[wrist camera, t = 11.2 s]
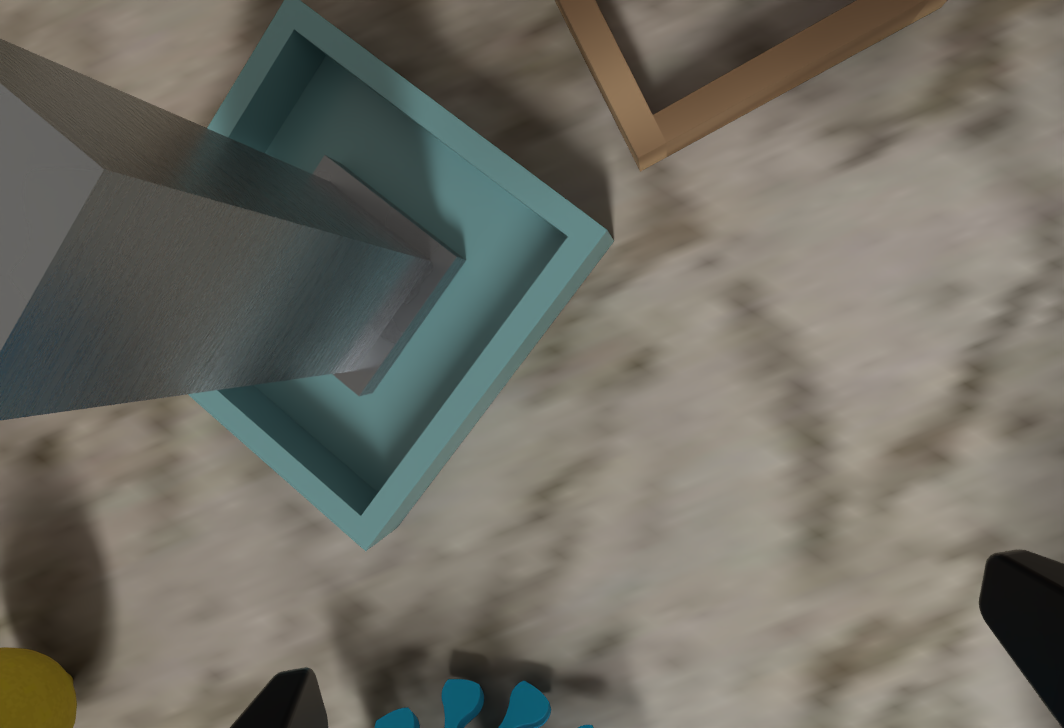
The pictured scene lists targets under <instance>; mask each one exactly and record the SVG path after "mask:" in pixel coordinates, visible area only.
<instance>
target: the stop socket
mask: <svg viewBox="0 0 1064 728" xmlns="http://www.w3.org/2000/svg"><path fill="white" fill-rule="evenodd" d="M946 1H947V0H856V1H854V2H853V3H851V4H849V5H847V6H846V7H844V8H842V9H840V10H838V11H837V12H835V13H833V14H831V15H830V16H828V17H826V18H824V19H822V20H821V21H819V22H817V23H815V24H814V25H812V26H810V27H808V28H807V29H805V30H803V31H801V32H799V33H798V34H796V35H794V36H792V37H791V38H789V39H787V40H785V41H783V42H782V43H780V44H778V45H776V46H775V47H773V48H771V49H769V50H767V51H766V52H764V53H762V54H760V55H759V56H757V57H755V58H753V59H751V60H750V61H748V62H746V63H744V64H743V65H741V66H739V67H737V68H735V69H734V70H732V71H730V72H728V73H727V74H725V75H723V76H721V77H719V78H718V79H716V80H714V81H712V82H711V83H709V84H707V85H705V86H703V87H702V88H700V89H698V90H696V91H695V92H693V93H691V94H689V95H687V96H686V97H684V98H682V99H680V100H679V101H677V102H675V103H673V104H671V105H670V106H668V107H666V108H664V109H663V110H661V111H659V112H657V113H655V114H654V115H652V113H651V111H650V109H649V107H648V105H647V103H646V101H645V99H644V97H643V95H642V93H641V91H640V89H639V87H638V85H637V83H636V81H635V79H634V77H633V75H632V73H631V71H630V69H629V67H628V65H627V63H626V61H625V59H624V57H623V55H622V53H621V51H620V49H619V47H618V45H617V43H616V41H615V39H614V37H613V35H612V33H611V31H610V29H609V27H608V25H607V23H606V21H605V19H604V17H603V15H602V13H601V11H600V9H599V7H598V5H597V3H596V1H595V0H555V2H556V4H557V6H558V8H559V10H560V12H561V14H562V16H563V18H564V20H565V22H566V24H567V26H568V28H569V30H570V32H571V34H572V36H573V38H574V40H575V42H576V44H577V46H578V48H579V50H580V52H581V54H582V56H583V58H584V60H585V62H586V64H587V66H588V68H589V70H590V72H591V74H592V76H593V78H594V80H595V82H596V84H597V86H598V88H599V90H600V92H601V94H602V96H603V98H604V100H605V102H606V104H607V106H608V108H609V110H610V112H611V114H612V116H613V118H614V120H615V122H616V124H617V126H618V128H619V130H620V132H621V134H622V136H623V138H624V140H625V142H626V144H627V146H628V148H629V150H630V152H631V154H632V156H633V158H634V160H635V162H636V164H637V166H638V168H639V170H640V171H642V170H644V169H646V168H648V167H649V166H651V165H653V164H655V163H657V162H659V161H660V160H662V159H664V158H666V157H668V156H670V155H671V154H673V153H675V152H677V151H679V150H681V149H682V148H684V147H686V146H688V145H690V144H692V143H693V142H695V141H697V140H699V139H701V138H703V137H704V136H706V135H708V134H710V133H712V132H714V131H715V130H717V129H719V128H721V127H723V126H725V125H726V124H728V123H730V122H732V121H734V120H736V119H737V118H739V117H741V116H743V115H745V114H747V113H748V112H750V111H752V110H754V109H756V108H758V107H759V106H761V105H763V104H765V103H767V102H769V101H770V100H772V99H774V98H776V97H778V96H780V95H781V94H783V93H785V92H787V91H789V90H791V89H792V88H794V87H796V86H798V85H800V84H802V83H803V82H805V81H807V80H809V79H811V78H813V77H814V76H816V75H818V74H820V73H822V72H824V71H825V70H827V69H829V68H831V67H833V66H835V65H836V64H838V63H840V62H842V61H844V60H846V59H847V58H849V57H851V56H853V55H855V54H857V53H858V52H860V51H862V50H864V49H866V48H868V47H869V46H871V45H873V44H875V43H877V42H879V41H880V40H882V39H884V38H886V37H888V36H890V35H891V34H893V33H895V32H897V31H899V30H901V29H903V28H904V27H906V26H908V25H910V24H912V23H914V22H915V21H917V20H919V19H921V18H923V17H925V16H926V15H928V14H930V13H932V12H934V11H936V10H937V9H939V8H941V7H942V6H943V5H944V4H945V2H946Z"/></svg>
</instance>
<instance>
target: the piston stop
mask: <svg viewBox="0 0 1064 728" xmlns="http://www.w3.org/2000/svg"><path fill="white" fill-rule="evenodd" d="M465 262H466V260H465V259H464V258H463V257H461V256H460V255H459V254H458V253H456V252H455V251H454V250H452V249H451V248H450V247H448V246H447V245H446V244H445V243H443V242H442V241H441V240H439V239H438V238H437V237H436V236H434V235H433V234H432V233H430V232H429V231H428V230H427V229H425V228H424V227H423V226H421V225H420V224H419V223H417V222H416V221H415V220H414V219H412V218H411V217H410V216H408V215H407V214H406V213H405V212H403V211H402V210H401V209H399V208H398V207H397V206H396V205H394V204H393V203H392V202H390V201H389V200H388V199H386V198H385V197H384V196H383V195H381V194H380V193H379V192H377V191H376V190H375V189H374V188H372V187H371V186H370V185H368V184H367V183H366V182H365V181H363V180H362V179H361V178H359V177H358V176H357V175H355V174H354V173H353V172H352V171H350V170H349V169H348V168H346V167H345V166H344V165H343V164H341V163H340V162H338V161H336V160H334V159H332V158H330V157H328V156H326V155H324V157H323V158H322V160H321V161H320V163H319V165H318V166H317V168H316V169H315V171H314V172H313V174H311V173H309V172H307V171H304V170H302V169H300V168H297V167H295V166H293V165H290V164H288V163H286V162H284V161H281V160H279V159H277V158H274V157H272V156H270V155H267V154H265V153H263V152H260V151H258V150H256V149H254V148H251V147H249V146H247V145H244V144H242V143H240V142H237V141H235V140H233V139H230V138H228V137H226V136H224V135H221V134H219V133H217V132H214V131H212V130H210V129H207V128H205V127H203V126H201V125H198V124H196V123H194V122H191V121H189V120H187V119H184V118H182V117H180V116H177V115H175V114H173V113H171V112H168V111H166V110H164V109H161V108H159V107H157V106H154V105H152V104H150V103H147V102H145V101H143V100H141V99H138V98H136V97H134V96H131V95H129V94H127V93H124V92H122V91H120V90H118V89H115V88H113V87H111V86H108V85H106V84H104V83H101V82H99V81H97V80H94V79H92V78H90V77H88V76H85V75H83V74H81V73H78V72H76V71H74V70H71V69H69V68H67V67H64V66H62V65H60V64H58V63H55V62H53V61H51V60H48V59H46V58H44V57H41V56H39V55H37V54H35V53H32V52H30V51H28V50H25V49H23V48H21V47H18V46H16V45H14V44H11V43H9V42H7V41H5V40H2V39H0V420H7V419H14V418H21V417H28V416H35V415H42V414H50V413H57V412H64V411H71V410H78V409H85V408H92V407H100V406H107V405H114V404H121V403H128V402H135V401H143V400H150V399H157V398H164V397H171V396H178V395H185V394H193V393H200V392H207V391H214V390H221V389H228V388H235V387H243V386H250V385H257V384H264V383H271V382H278V381H286V380H293V379H300V378H307V377H314V376H321V375H328V374H333V375H334V376H335V377H336V378H337V379H339V380H340V381H341V382H342V383H343V384H345V385H346V386H347V387H348V388H349V389H351V390H352V391H353V392H354V393H355V394H357V395H358V396H363V395H367V394H372V393H373V392H374V391H375V389H376V388H377V386H378V385H379V383H380V382H381V381H382V379H383V378H384V376H385V375H386V374H387V372H388V371H389V369H390V368H391V366H392V365H393V364H394V362H395V361H396V359H397V358H398V357H399V355H400V354H401V352H402V351H403V349H404V348H405V347H406V345H407V344H408V342H409V341H410V340H411V338H412V337H413V335H414V334H415V332H416V331H417V330H418V328H419V327H420V325H421V324H422V323H423V321H424V320H425V318H426V317H427V315H428V314H429V313H430V311H431V310H432V308H433V307H434V306H435V304H436V303H437V301H438V300H439V298H440V297H441V296H442V294H443V293H444V291H445V290H446V288H447V287H448V286H449V284H450V283H451V281H452V280H453V279H454V277H455V276H456V274H457V273H458V271H459V270H460V269H461V267H462V266H463V264H464V263H465Z"/></svg>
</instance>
